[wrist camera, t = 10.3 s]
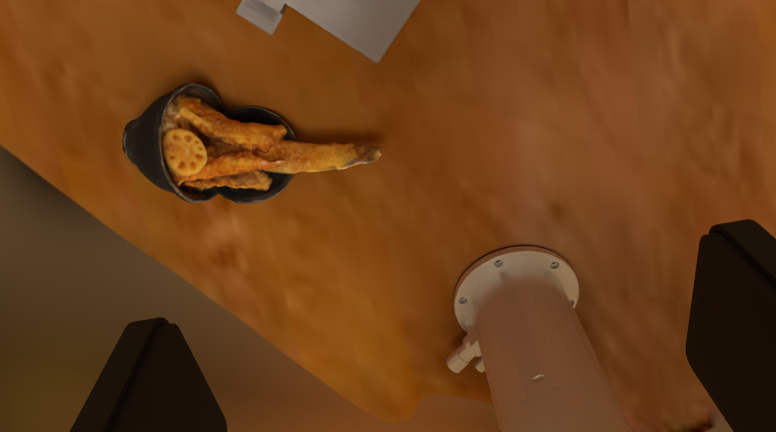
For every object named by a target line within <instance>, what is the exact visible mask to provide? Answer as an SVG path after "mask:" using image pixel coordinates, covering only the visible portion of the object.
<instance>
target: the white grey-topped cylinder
mask: <svg viewBox="0 0 776 432" xmlns="http://www.w3.org/2000/svg"><path fill="white" fill-rule="evenodd" d="M419 1H420V0H242V1H241V3H240V5H239V7H238V9H237V11H236V13H237V14H238V15H240V16H241V17H243V18H245V19H246V20H248V21H249V22H251V23H253V24H254V25H256V26H257V27H259V28H261V29H262V30H264V31H265V32H267V33H269V34H270V35H272V34H273V32H274V31H275V29H276V27H277V25H278V23H279V22H280V20H281V18H282V16H283V14H284V12H285V10H286V8H287V5H288V6H290V7H291V8H293V9H295V10H296V11H298V12H299V13H301V14H302V15H304V16H305V17H307V18H308V19H310V20H311V21H313V22H314V23H316V24H317V25H319V26H321V27H322V28H324V29H325V30H327V31H328V32H330V33H331V34H333V35H334V36H336V37H337V38H339V39H340V40H342V41H343V42H345V43H347V44H348V45H350V46H351V47H353V48H354V49H356V50H357V51H359V52H360V53H362V54H363V55H365V56H366V57H368V58H369V59H371V60H373V61H374V62H376V63H377V64H378V62H379V61H380V59H381V58H382V56H383V55H384V53H385V52H386V50H387V49H388V47H389V46H390V44H391V43H392V41H393V40H394V38H395V37H396V36H397V34H398V33H399V31H400V30H401V28H402V27H403V25H404V24H405V22H406V21H407V19H408V18H409V16H410V15H411V13H412V12H413V10H414V9H415V7H416V6H417V4H418V3H419Z"/></svg>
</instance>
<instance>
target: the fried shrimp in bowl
mask: <svg viewBox="0 0 776 432" xmlns="http://www.w3.org/2000/svg"><path fill="white" fill-rule="evenodd" d="M124 130H125V131H124V133H123V141H122V142H123V151H124V153H125V154H126V156H127V157H128V158H129V160H130V161H131V162H132V164H133V165H135V166H136V167H138V169H139V170H140V171H141V172H142V173H143V174H144V175H145V176H146V177H147V178H148V179H149V180H150V181H151V182H152V183H154V184H155V185H156V186H158V187H160V188H162V189H164V190H166V191H169V192H172V193H175V194H176V195H177V196H178V197H180V198H181V199H183V200H185V201H187V202H190V203H202V202H207V201H209V200H211V199H212V198H213V197H215V196H216V195H217V194H221V195H222V196H223V197H224V198H227V199H229V200H232V201H234V202H236V203H243V204H251V203H259V202H263V201H265V200H268V199H270V198H272V197H274V196H276V195H278V194H279V193H280V192H282V191H283V190H284V189H285V188H286V187H287V185H288V184H289V182H290V181H291V180H292V178H293V176H294V175H295V173H297V172H302V171H306V172H318V171H326V170H332V169H338V170H341V169H346V168H348V167H351V166H354V165H357V164H365V163H370V162H376V161H377V160H378V159H379V157H380V156H381V154H382V152H381V148H379V147H367V146H365V145H363V146H356V145H355V144H353V143H349V144H338V143H336V142H332V143H328V144H313V143H303V142H296V138H295V135H294V133H293V131H292V130H291V128H290V127H289V126H288V125H287V124H286V123H285V122H284V121H283V120H282V119H281V117H280V116H278V115H277V114H275V113H273V112H271V111H270V110H267V109H264V108H261V107H256V106H245V107H238V108H233V109H230V110H226V109H225V107H224V105H223V104H222V102H221V100H220V99H219V97H218V96H217V95H216V94H215V93H214V92H213V91H212V90H211V89H210V88H208V87H206V86H204V85H200V84H198V83H189V84H185V85H182V86H180V87H178V88H176V89H174V90H173V91H172V92H171V93H168V94H166V95H163V96H161V97H160V98H158V99H157V100H156V101H155V102H153V103H152V104H151V105H150V106H149V108H148V109H147V110H146V111H145V112H144V113H143V114H142V115H141V116H140V117H139V118H138V119H135V120H132V121H130V122H129V123H128V124H127V125H126V127H125V129H124Z"/></svg>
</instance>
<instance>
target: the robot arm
mask: <svg viewBox="0 0 776 432" xmlns="http://www.w3.org/2000/svg"><path fill="white" fill-rule="evenodd" d="M578 298H579V283H578V280H577V277H576V275H575V273H574V271H573V269H572V268H571V266H570V265H569V263H568V262H567V261H566V260H565V259H564V258H562V257H561V256H559V255H558V254H556V253H554V252H552V251H549V250H547V249H544V248H539V247H533V246H519V247H510V248H506V249H502V250H499V251H496V252H494V253H491V254H489V255H487V256H485V257H483V258H482V259H480V260H479V261H477V262H475V263H474V264H473V265H472V266H471V267H470V268H469V269H468V270H467V271H466V272H465V273H464V274H463V276H462V277H461V278H460V280H459V282H458V284H457V286H456V288H455V292H454V296H453V306H454V311H455V316H456V318H457V320H458V323H459V324H460V326H461V327H462V328H463V330H464V331H465V332H467V335H466V336H465V337H464V338H463V344H462V345H461V346H460V347H459V348H457V349H456V350H455V351H454V352H453V353H452V354H451V355H449V356H448V357H447V359H446V364H447V365H448V367H449V368H450V369H451V370H452V371H453V372H455V373H459V372H460V371H461V370H462V369H463V368H464V367H465V366H466V365H467V364H469V363H470V362H471V360H472V359H473V358H474V357H475V356H477V357H479V358H478V359H477V360H476V361H475V362H474V366H475V368H476V369H477V370H478V371H479V372H484V371H485V372H486V376H487V380H488V384H489V388H490V392H491V397H492V401H493V405H494V409H495V412H496V417H497V421H498V425H499V428H500V432H633V431H632V429H631V427H630V425H629V423H628V421H627V419H626V417H625V415H624V413H623V410H622V408H621V406H620V404H619V402H618V400H617V398H616V396H615V394H614V392H613V390H612V387H611V385H610V383H609V381H608V379H607V377H606V375H605V373H604V371H603V369H602V367H601V364H600V362H599V360H598V358H597V356H596V354H595V352H594V350H593V348H592V346H591V344H590V341H589V339H588V337H587V335H586V333H585V331H584V329H583V327H582V325H581V323H580V321H579V318H578V316H577V314H576V312H575V310H574V309H575V307H576V304H577V302H578ZM686 355H687V359H688V362H689V364H690V366H691V368H692V370H693V371H694V373H695V374H696V376H697V377H698V379H699V380H700V382H701V383H702V385H703V386H704V388H705V389H706V391H707V392H708V394H709V395H710V397H711V398H712V400H713V401H714V403H715V404H716V406H717V407H718V409H719V410H720V412H721V413H722V415H723V416H724V418H725V419H726V421H727V422H728V424H729V425H730V427H731V428H732V430H733V431H734V432H776V239H775V238H774V237H773V236H772V235H771V234H769V233H768V232H767V231H766V230H765V229H764V228H763V227H761V226H760V225H759V224H758V223H757V222H755V221H753V220H749V219H747V220H741V221H735V222H729V223H723V224H717V225H714V226H712V227H711V229H710V230H709V234H708V235H704V236H702V238H701V239H700V243H699V250H698V258H697V265H696V273H695V280H694V288H693V295H692V303H691V310H690V318H689V325H688V333H687V340H686ZM70 432H227V424H226V420H225V417H224V415H223V413H222V411H221V409H220V407H219V405H218V403H217V402H216V399H215V398H214V395H213V394H212V392H211V390H210V388H209V386H208V384H207V382H206V380H205V378H204V376H203V374H202V372H201V370H200V368H199V366H198V364H197V362H196V360H195V358H194V356H193V354H192V352H191V350H190V348H189V346H188V345H187V343H186V341H185V339H184V337H183V335H182V333H181V331H180V329H179V327H178V326H177V325H176V324H169V322H168V321H167V320H166V319H165V318H161V317H159V318H154V319H147V320H141V321H136V322H131V323H130V324H128V325H127V327H126V328H125V330H124V332H123V333H122V335H121V337H120V339H119V341H118V343H117V344H116V346H115V348H114V350H113V352H112V354H111V356H110V358H109V359H108V361H107V363H106V365H105V367H104V369H103V371H102V373H101V374H100V376H99V378H98V380H97V382H96V384H95V386H94V388H93V389H92V391H91V393H90V395H89V397H88V399H87V400H86V402H85V405H84V406H83V408H82V410H81V412H80V414H79V415H78V417H77V419H76V421H75V423H74V425H73V427H72V428H71V430H70Z"/></svg>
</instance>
